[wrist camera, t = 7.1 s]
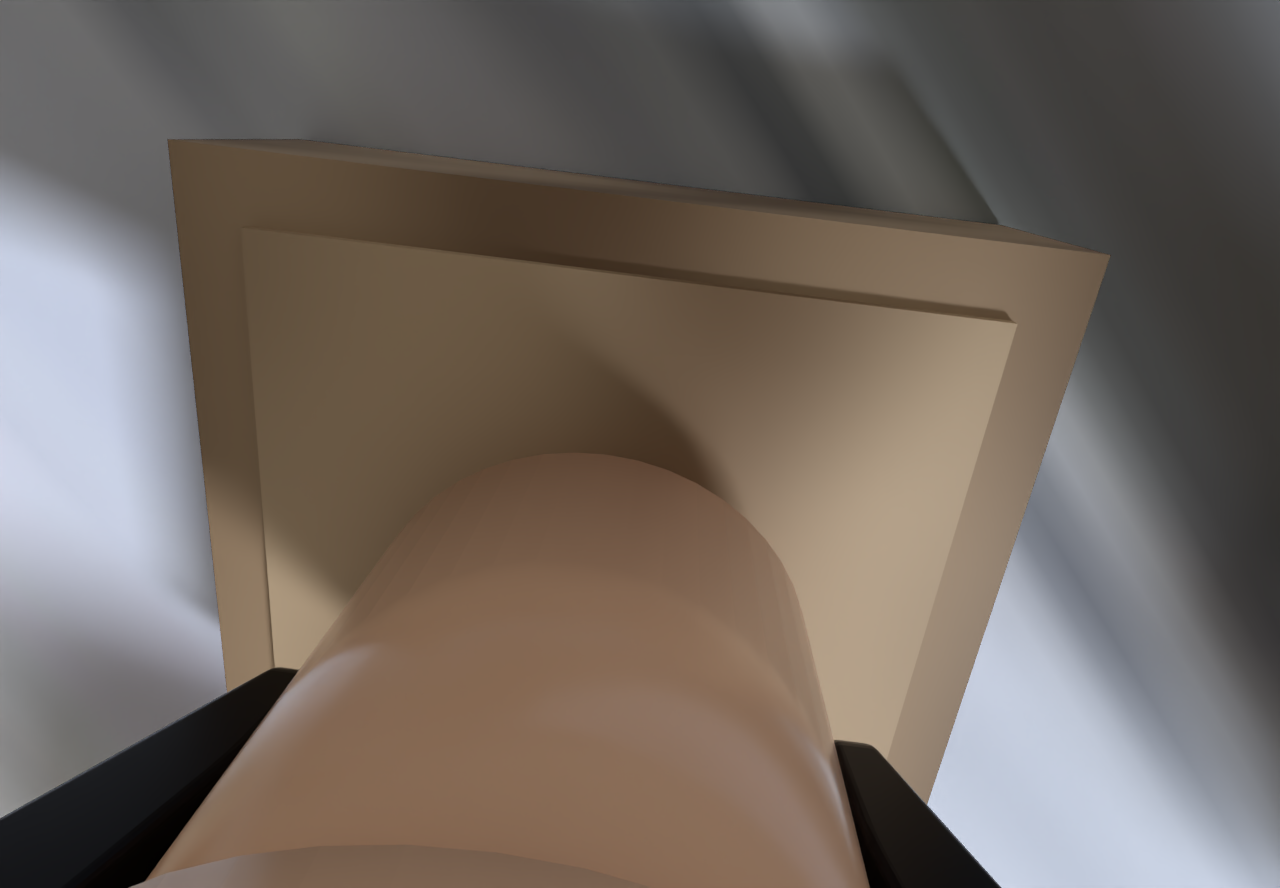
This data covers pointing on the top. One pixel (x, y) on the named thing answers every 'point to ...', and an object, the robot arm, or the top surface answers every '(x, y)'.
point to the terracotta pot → (545, 708)
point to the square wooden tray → (623, 387)
